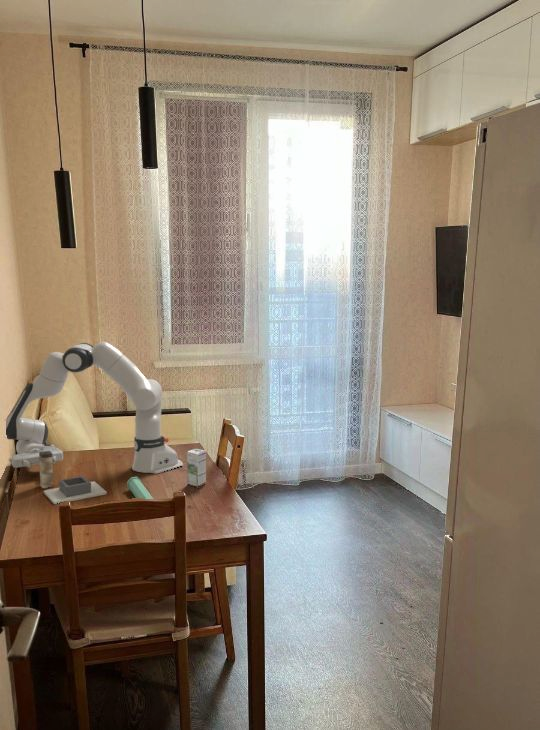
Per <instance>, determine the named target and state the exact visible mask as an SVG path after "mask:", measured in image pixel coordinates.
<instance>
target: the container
mask: <svg viewBox="0 0 540 730" xmlns="http://www.w3.org/2000/svg"><path fill="white" fill-rule="evenodd" d="M126 486H127V489H129V490H130V492H131V493H132V494H133V496H134V497H135V499H136V498H143V499H154V498H153V496H152V495H151V493H150V492H149V490H147V488H146V487H145V486H144V484H143V483H142V480H141V479H140V478H139V477H138V476H133V477H130V478H129V479H128V480H127V482H126Z"/></svg>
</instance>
